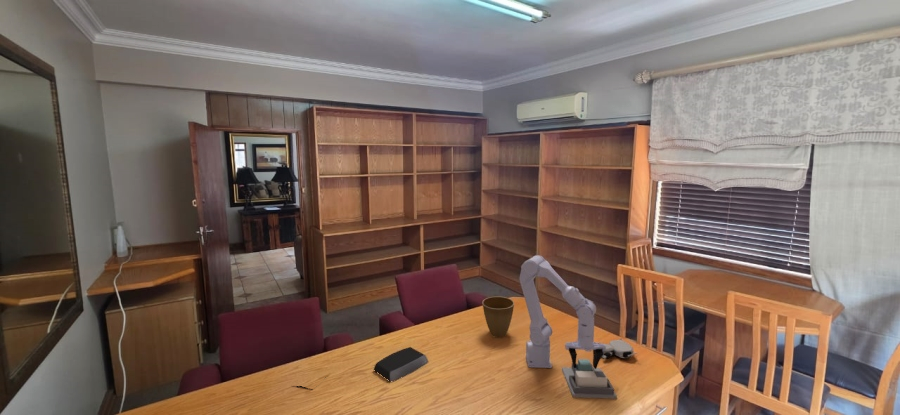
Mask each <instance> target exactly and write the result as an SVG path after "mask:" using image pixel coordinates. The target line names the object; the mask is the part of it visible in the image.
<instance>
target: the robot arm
mask: <svg viewBox="0 0 900 415" xmlns="http://www.w3.org/2000/svg"><path fill="white" fill-rule="evenodd" d="M520 268H521V270H520V274H519V278H518V279H519V282H520V287H521V290H522V293H523V297H524V298H523V299H524V301H525V304H526V305H525V306H526V309H527V312H528V315H529V319H530V325H529V333H530V334H529V341H526V342H525V343H526V344H525V359H526V364H527V367H528V368H536V369H537V368H542V369H543V368H544V369H547V368H548V369H552V368H553V365H552V362H551V360H550V359H551V357H550V355H551V340H550V337H551V336H552V335H553V328H552V327H551V325H550V324H549V322H548V319H547V318H546V317H545V316H544V313H543V310H542V306H541V302H540V299H539V295H538V292H537V288H536V284H535V281H534V280H535V278H536V277H538V278H546V279H547V280H548V281H549V282H551V284H553V285H554V286H555V287H556V288H557V289H558V290H559V291H560V292H561V296H562V298H563V299H564V300H565V301H566V302H567V303H568V305H570V306H571V307H572V308H573V309H574V310H575V311H576V315H577V318H578V321H577V339H576V340H577V341H571V342H565V343H564V347H565V350H567V351H568V352H569V354H570V358H571V365H572V364H573V367H574V368H576V364H577V358H578V357H577V356H578V354H577V350H582V351H585V352H591V351H592V356H593V357H592V366H593V368H595V369H596V368H598V365H599V362H600V361H601V359H602V356H603V351H606V346H605V344H606V343H599V342H594V339H595V314H596V312H597V306H596V304H595V303H594V301H592V300H590V299H588V298H585V296H583V294H582V293H581V292H580V290H579V289H578V287H575V286H573V285H572V286H571V285H568V284H567V283H566V281H565V280H564V279H563V278H562V277H561V276H560V275H559V274H558V272H556V270H554V268H553V267H552V266H551V264H550V262H549V261H547V260H546V259H545V258H544V257H543V256H542V255H539V254H535V255H534V256H532V257H530V258H529V259H527V260H525V261H524V262H523V263H522V265H521V266H520Z"/></svg>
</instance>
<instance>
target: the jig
mask: <svg viewBox="0 0 900 415" xmlns="http://www.w3.org/2000/svg"><path fill="white" fill-rule="evenodd" d="M591 365H592V371H603V370H602V369H601V367H597V368H596V369H595V368H594V367H593V363H591ZM576 371H578V363H576V368H574V367H573V364H572V363H571V367H569V366H567V367H566V366H565V367H564V366H561V372H562V374H563V376H564V379H565V381H566V384H567V387H568V388H569V391H570V394H571V396H572V398H583V399H584V398H589V399H613V400H614V399H618V396H617V394H616V392H615V389H614V388H615V387H613V385H612V383H611V382H610V379H609V378H608V377H607V388H601V387H576V384H575V372H576Z"/></svg>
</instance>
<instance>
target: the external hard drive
mask: <svg viewBox="0 0 900 415" xmlns="http://www.w3.org/2000/svg"><path fill="white" fill-rule="evenodd" d="M428 363H429V360H428V357H427V355H426V354H424V353H422V352H421V351H419V350H417V349H415V348H413V347H411V346H409V347H405V348H403V349H400V350H397V351H395V352H393V353H391V354H389V355H387V356H385V357H384V358H382V359H380V360H379V361H377V362H376V363H375V365H374V367H373V370H375V371H376V372H378V373H379V374H381V375H382V376H383V377H385V378H386V379H388V380H389V381H390V382H389V381H388V380H387V381H388V382H389V383H392V382H391V381H393V382H395V381H394V380H396V381H397V379H398V380H400V379H402V378H403V377H406V376H408V375H410V374H412V373H414V372H416V371H417V370H420V369H421V368H422V367H424V366H426V365H427V364H428ZM375 371H374V372H375ZM376 372H375V373H376ZM378 373H377V374H378ZM379 374H378V375H379ZM382 376H381V377H382ZM383 377H382V378H383ZM401 377H402V378H401ZM385 378H384V379H385ZM399 378H400V379H399ZM386 379H385V380H386Z"/></svg>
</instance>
